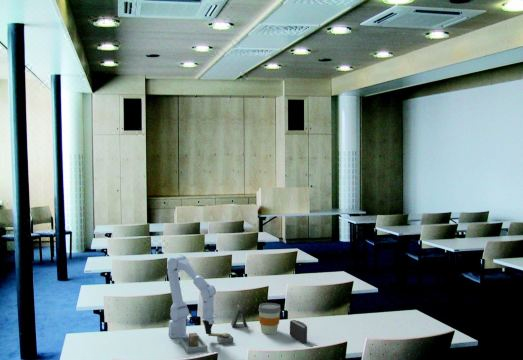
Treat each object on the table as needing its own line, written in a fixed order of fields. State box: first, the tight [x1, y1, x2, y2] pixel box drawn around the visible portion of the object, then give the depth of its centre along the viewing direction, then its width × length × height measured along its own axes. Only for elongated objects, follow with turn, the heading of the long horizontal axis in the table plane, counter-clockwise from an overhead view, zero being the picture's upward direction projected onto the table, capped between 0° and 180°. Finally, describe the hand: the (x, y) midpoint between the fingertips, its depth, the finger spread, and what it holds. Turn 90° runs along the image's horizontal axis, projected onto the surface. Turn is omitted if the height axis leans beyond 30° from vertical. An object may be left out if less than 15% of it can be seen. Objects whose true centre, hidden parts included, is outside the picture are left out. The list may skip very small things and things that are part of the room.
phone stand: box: [230, 304, 249, 329], centre depth 349 cm, size 9×6×12 cm, turn 99°
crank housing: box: [216, 333, 234, 346], centre depth 325 cm, size 7×14×3 cm, turn 20°
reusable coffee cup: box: [258, 302, 282, 335], centre depth 339 cm, size 13×13×15 cm
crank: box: [207, 331, 230, 337], centre depth 322 cm, size 12×4×3 cm, turn 83°
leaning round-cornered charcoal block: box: [289, 319, 308, 345], centre depth 326 cm, size 16×5×9 cm, turn 27°
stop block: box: [188, 332, 199, 347], centre depth 313 cm, size 4×5×6 cm
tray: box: [179, 335, 208, 354], centre depth 313 cm, size 11×17×2 cm, turn 20°
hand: (208, 333), depth 320 cm, fingers closed
